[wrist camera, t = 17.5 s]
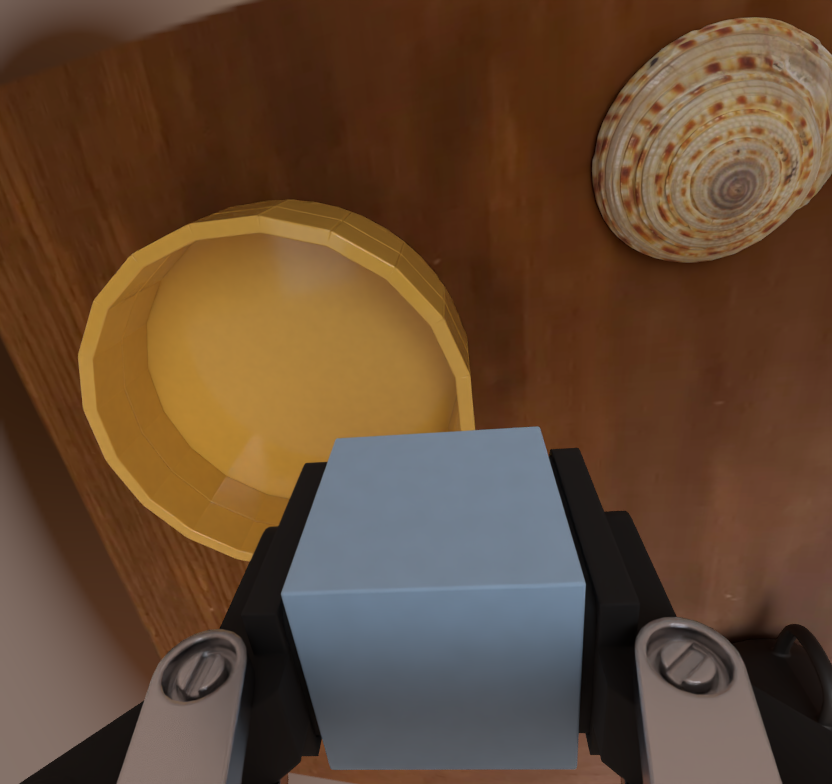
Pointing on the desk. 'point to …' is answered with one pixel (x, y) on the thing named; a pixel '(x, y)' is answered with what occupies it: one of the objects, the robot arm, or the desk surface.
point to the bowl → (264, 361)
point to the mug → (792, 671)
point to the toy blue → (440, 604)
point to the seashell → (716, 140)
